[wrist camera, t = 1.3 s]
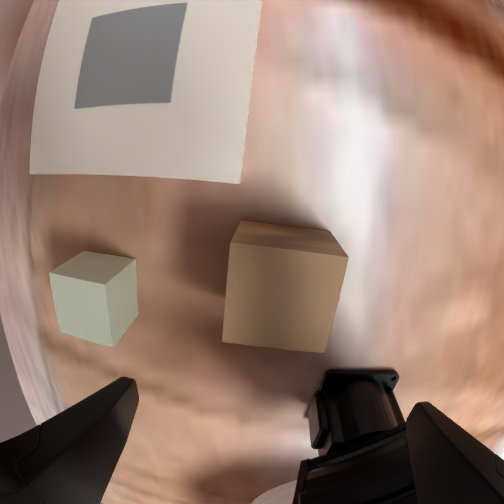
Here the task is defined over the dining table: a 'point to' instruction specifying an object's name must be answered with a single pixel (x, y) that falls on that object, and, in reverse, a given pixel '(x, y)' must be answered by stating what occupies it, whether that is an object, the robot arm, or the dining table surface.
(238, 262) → the walnut block
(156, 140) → the off-white flat square slab
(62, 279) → the sage block
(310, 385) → the dining table surface
